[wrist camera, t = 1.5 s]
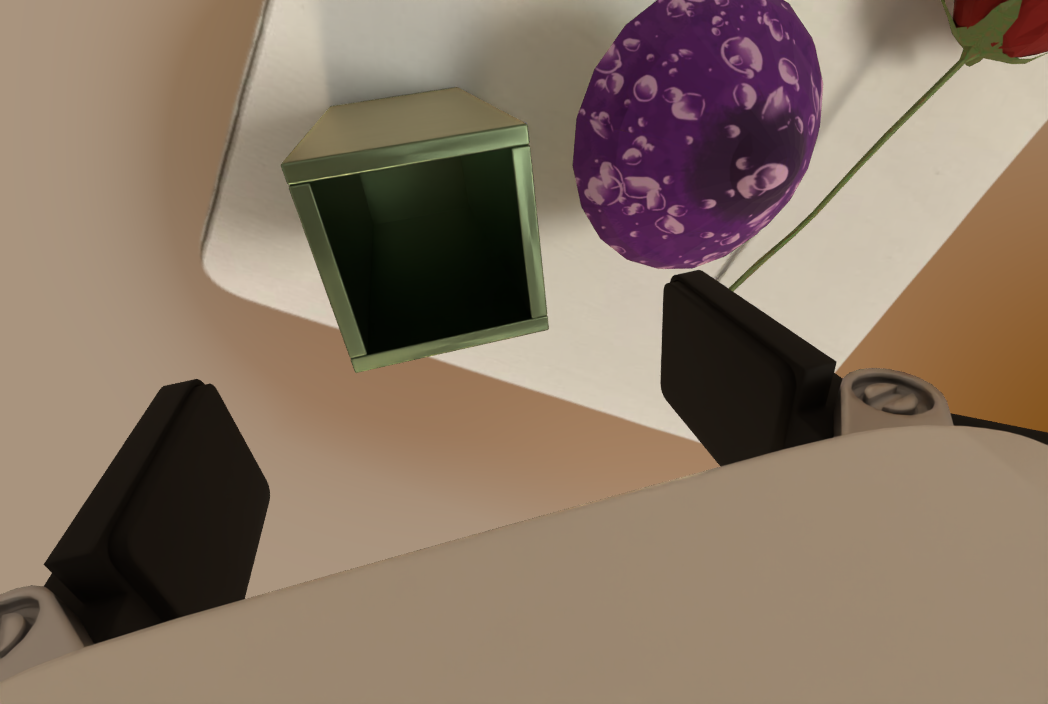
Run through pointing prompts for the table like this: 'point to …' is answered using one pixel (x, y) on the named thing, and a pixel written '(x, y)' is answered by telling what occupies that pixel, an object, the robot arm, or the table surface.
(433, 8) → the table surface
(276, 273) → the table surface
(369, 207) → the box
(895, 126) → the flower
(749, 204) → the decorative mushroom
